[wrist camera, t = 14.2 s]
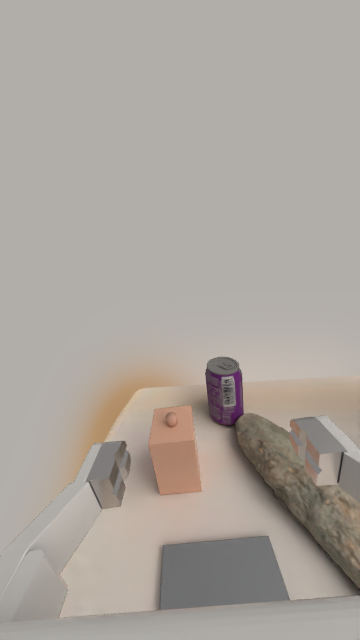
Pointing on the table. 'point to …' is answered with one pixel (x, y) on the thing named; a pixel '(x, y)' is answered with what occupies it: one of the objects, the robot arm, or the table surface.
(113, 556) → the table surface
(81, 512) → the robot arm
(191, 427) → the peach block with knob
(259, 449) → the long grey stone
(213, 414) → the beverage can
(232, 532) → the table surface
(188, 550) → the mat
